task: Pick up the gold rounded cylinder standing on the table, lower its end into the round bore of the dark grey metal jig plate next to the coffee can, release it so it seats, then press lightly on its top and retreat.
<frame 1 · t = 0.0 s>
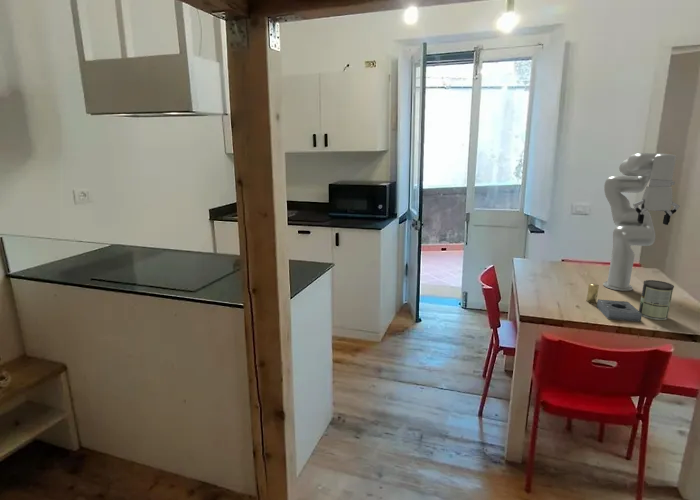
hand: (652, 223, 184), 37 cm above the table, tool pointing down, fingers open, 9 cm apart
gold rounded cylinder: (591, 301, 195), on the table
jig: (617, 314, 180), on the table
coffee can: (652, 316, 179), on the table
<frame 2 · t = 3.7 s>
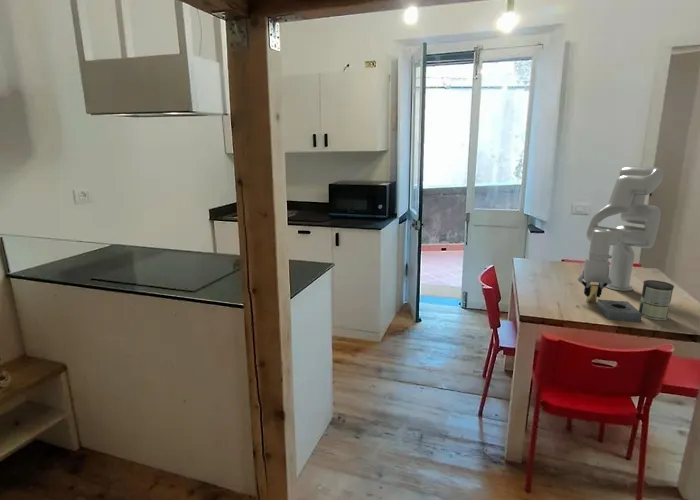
hand: (592, 295, 194), 3 cm above the table, tool pointing down, fingers closed on gold rounded cylinder, 4 cm apart
gold rounded cylinder: (591, 301, 195), on the table, touching gripper
everything else where it was.
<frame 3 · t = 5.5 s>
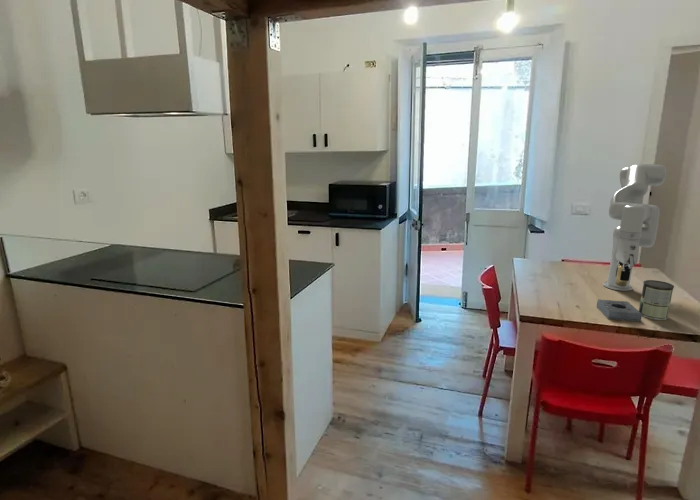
hand: (622, 278, 177), 16 cm above the table, tool pointing down, fingers closed on gold rounded cylinder, 4 cm apart
gold rounded cylinder: (620, 284, 178), point 13 cm above the table, touching gripper
everything else where it was.
when the fingers open (5 cm above the table, at t = 7.4 s): gold rounded cylinder drops 2 cm, resting in jig.
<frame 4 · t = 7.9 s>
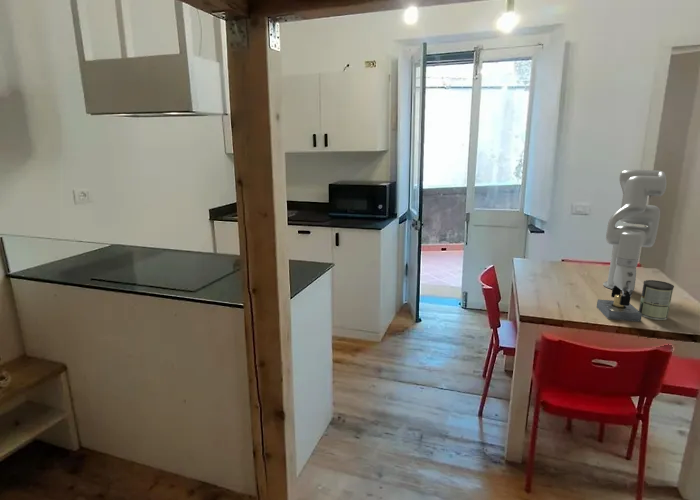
hand: (619, 301, 179), 6 cm above the table, tool pointing down, fingers open, 9 cm apart
gold rounded cylinder: (617, 313, 180), resting in jig
everything else where it was.
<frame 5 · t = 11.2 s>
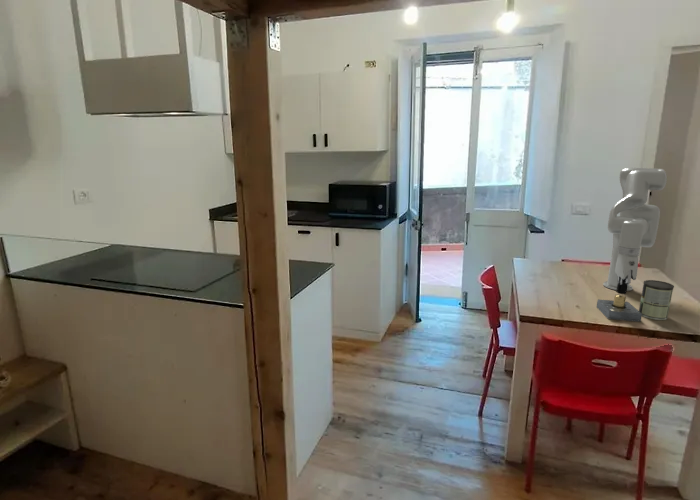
hand: (621, 293, 178), 9 cm above the table, tool pointing down, fingers closed
nothing on the table moved.
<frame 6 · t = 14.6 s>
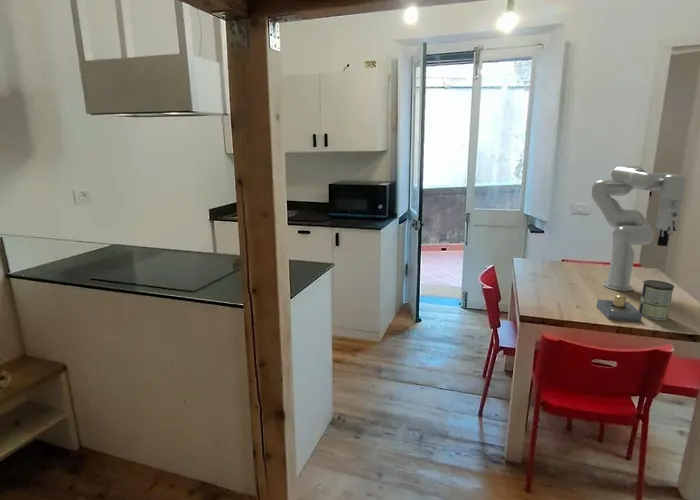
hand: (662, 245, 187), 27 cm above the table, tool pointing down, fingers closed
nothing on the table moved.
at the end: gold rounded cylinder 0.2 cm off-centre on the jig, point 0.0 cm above the jig's base; gold rounded cylinder tilted 1°; the gripper is holding nothing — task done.
